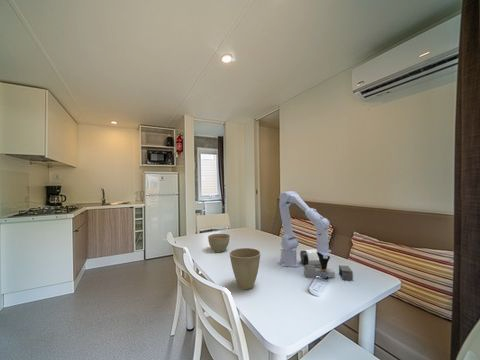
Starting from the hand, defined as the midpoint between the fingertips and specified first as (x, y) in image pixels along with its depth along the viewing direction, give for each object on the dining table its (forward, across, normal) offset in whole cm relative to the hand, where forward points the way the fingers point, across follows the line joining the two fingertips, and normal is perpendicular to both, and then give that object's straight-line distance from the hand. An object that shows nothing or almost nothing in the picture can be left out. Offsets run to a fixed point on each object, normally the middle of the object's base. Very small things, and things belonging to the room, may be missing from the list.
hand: (323, 267), depth 108 cm
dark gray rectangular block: (+4, 0, -12) cm, 12 cm away
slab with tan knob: (+4, 0, +1) cm, 4 cm away
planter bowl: (+4, +32, +68) cm, 75 cm away
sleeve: (+4, 0, +4) cm, 5 cm away
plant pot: (+4, -17, +38) cm, 42 cm away
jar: (0, +18, -2) cm, 18 cm away
